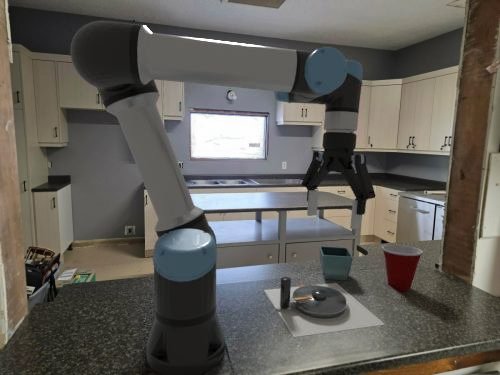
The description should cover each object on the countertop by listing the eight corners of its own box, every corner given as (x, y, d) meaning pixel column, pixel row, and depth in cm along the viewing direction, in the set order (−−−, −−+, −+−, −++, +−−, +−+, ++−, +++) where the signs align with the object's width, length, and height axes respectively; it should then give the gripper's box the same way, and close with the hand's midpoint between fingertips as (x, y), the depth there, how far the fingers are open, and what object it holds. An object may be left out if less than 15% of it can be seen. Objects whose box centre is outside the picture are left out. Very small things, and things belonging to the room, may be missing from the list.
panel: (293, 342, 68) (294, 335, 68) (263, 294, 89) (263, 288, 89) (384, 329, 73) (385, 322, 73) (336, 286, 94) (336, 281, 94)
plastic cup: (405, 278, 101) (408, 241, 99) (427, 295, 90) (431, 253, 89) (371, 279, 100) (374, 242, 98) (390, 296, 89) (394, 254, 87)
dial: (329, 290, 89) (331, 264, 88) (356, 315, 76) (358, 284, 75) (271, 296, 85) (272, 268, 84) (289, 323, 72) (291, 291, 71)
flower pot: (345, 274, 104) (347, 247, 102) (351, 286, 95) (353, 257, 94) (317, 272, 104) (319, 245, 103) (321, 284, 96) (322, 255, 94)
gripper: (399, 133, 67) (388, 232, 70) (312, 132, 87) (307, 209, 90) (377, 131, 63) (366, 237, 66) (291, 130, 83) (286, 211, 86)
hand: (332, 221), depth 78 cm, fingers open, 13 cm apart
